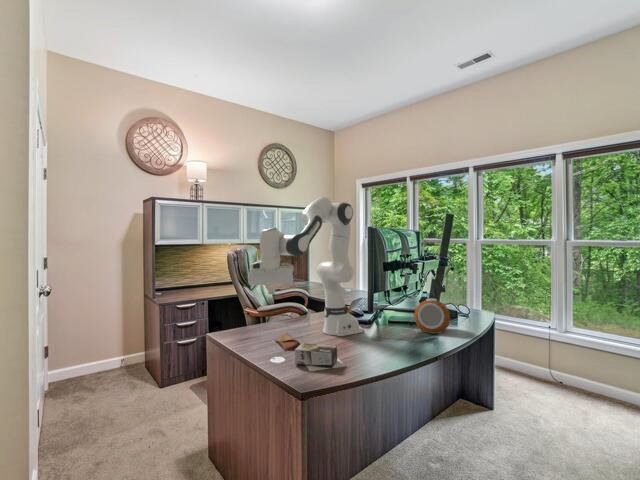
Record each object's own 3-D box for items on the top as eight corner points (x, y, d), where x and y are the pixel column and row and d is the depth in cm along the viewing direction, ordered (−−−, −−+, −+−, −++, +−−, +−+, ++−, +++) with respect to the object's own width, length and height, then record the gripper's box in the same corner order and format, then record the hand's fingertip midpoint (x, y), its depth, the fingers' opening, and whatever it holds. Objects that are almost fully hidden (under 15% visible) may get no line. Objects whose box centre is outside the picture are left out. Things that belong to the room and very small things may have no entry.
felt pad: (332, 353, 150) (332, 352, 150) (345, 366, 135) (345, 365, 135) (300, 357, 146) (300, 356, 146) (309, 371, 130) (309, 370, 130)
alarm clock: (412, 332, 179) (412, 301, 179) (415, 324, 196) (415, 295, 195) (450, 336, 172) (449, 303, 172) (450, 327, 188) (450, 297, 188)
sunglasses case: (273, 340, 169) (279, 328, 170) (284, 345, 172) (290, 333, 173) (284, 351, 153) (291, 338, 154) (297, 357, 155) (303, 343, 157)
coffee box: (294, 364, 136) (332, 368, 132) (294, 349, 136) (331, 352, 132) (302, 357, 145) (337, 360, 140) (302, 342, 145) (337, 345, 140)
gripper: (293, 262, 152) (294, 291, 153) (248, 263, 151) (249, 293, 151) (293, 263, 146) (294, 294, 146) (246, 265, 144) (248, 296, 145)
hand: (271, 294), depth 149 cm, fingers closed
